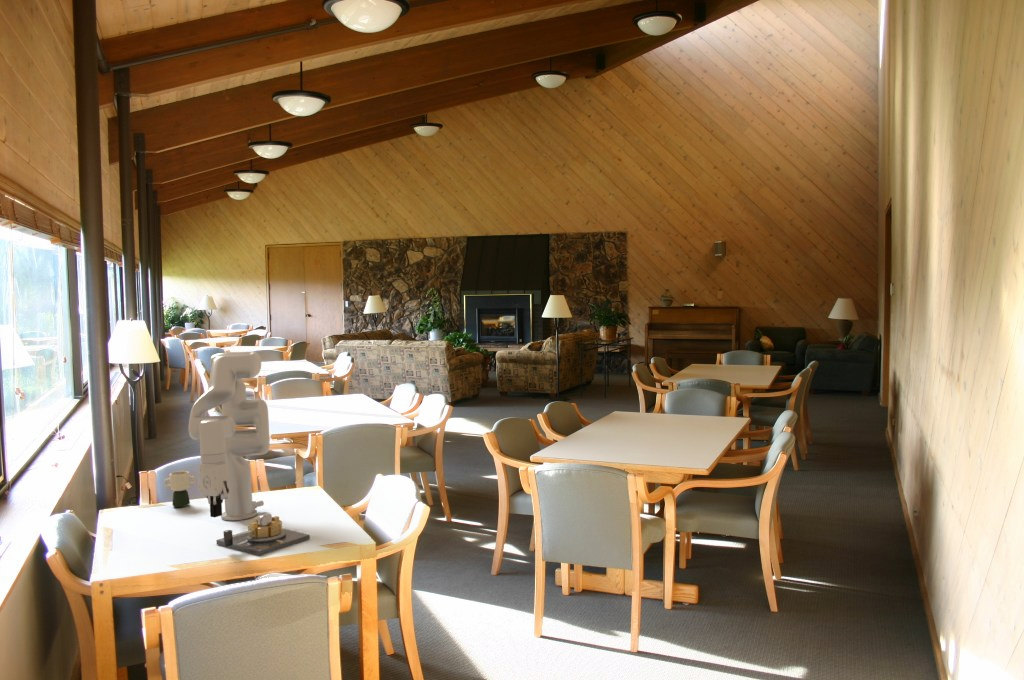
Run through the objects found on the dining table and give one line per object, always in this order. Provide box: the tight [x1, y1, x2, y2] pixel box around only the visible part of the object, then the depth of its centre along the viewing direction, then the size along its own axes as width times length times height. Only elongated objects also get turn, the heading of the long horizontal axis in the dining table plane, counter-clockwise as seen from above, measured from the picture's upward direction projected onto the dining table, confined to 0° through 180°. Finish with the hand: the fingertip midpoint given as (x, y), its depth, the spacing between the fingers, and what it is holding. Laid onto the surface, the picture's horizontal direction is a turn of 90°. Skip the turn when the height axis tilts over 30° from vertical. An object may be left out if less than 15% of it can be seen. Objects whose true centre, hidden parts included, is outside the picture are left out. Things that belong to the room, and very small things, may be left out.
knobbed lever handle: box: [223, 515, 283, 547], centre depth 277 cm, size 20×10×4 cm, turn 143°
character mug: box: [164, 470, 196, 508], centre depth 329 cm, size 11×7×13 cm, turn 106°
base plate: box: [215, 513, 311, 557], centre depth 280 cm, size 20×22×8 cm
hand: (216, 516), depth 272 cm, fingers closed
